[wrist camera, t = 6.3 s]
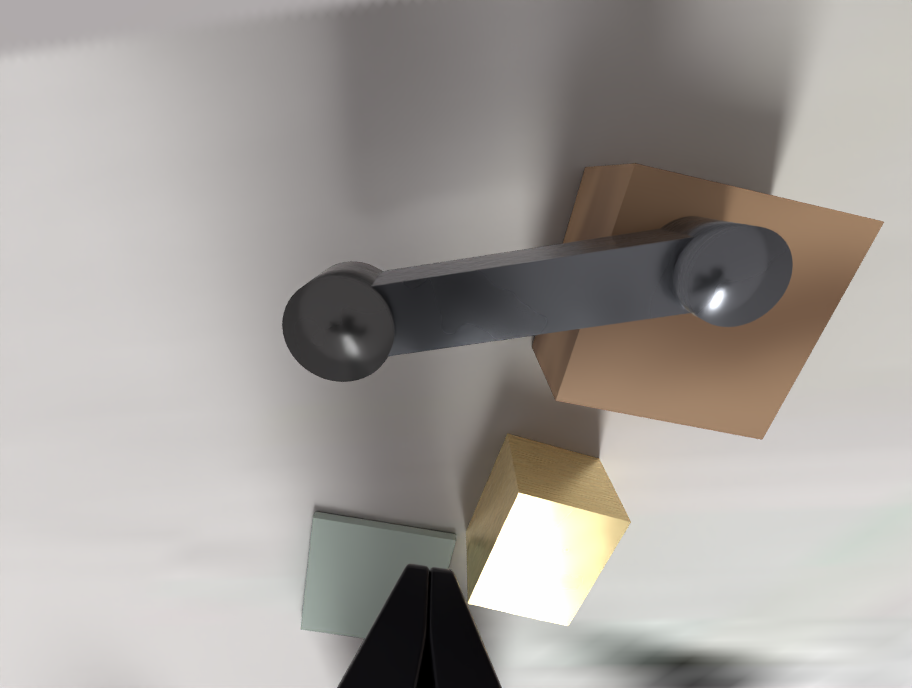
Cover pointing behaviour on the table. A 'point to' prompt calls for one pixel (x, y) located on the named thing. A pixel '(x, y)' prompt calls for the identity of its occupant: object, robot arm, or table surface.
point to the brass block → (541, 531)
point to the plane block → (687, 336)
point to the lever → (535, 293)
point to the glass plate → (362, 569)
